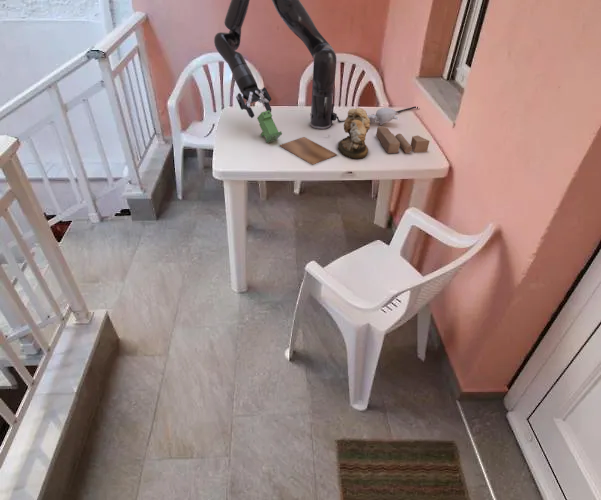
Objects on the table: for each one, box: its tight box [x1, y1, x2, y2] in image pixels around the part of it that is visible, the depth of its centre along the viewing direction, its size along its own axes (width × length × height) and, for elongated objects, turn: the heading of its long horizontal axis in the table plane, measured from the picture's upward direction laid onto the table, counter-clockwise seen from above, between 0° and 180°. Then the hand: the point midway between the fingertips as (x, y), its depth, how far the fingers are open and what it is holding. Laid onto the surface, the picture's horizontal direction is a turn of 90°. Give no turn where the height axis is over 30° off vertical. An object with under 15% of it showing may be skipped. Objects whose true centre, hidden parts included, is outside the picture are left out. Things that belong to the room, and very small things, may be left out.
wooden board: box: [279, 136, 337, 165], centre depth 167 cm, size 13×20×1 cm, turn 40°
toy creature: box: [367, 107, 401, 126], centre depth 188 cm, size 13×7×20 cm
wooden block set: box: [375, 125, 430, 154], centre depth 173 cm, size 17×6×18 cm
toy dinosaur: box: [256, 110, 283, 143], centre depth 170 cm, size 11×5×12 cm, turn 40°
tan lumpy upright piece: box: [337, 107, 371, 160], centre depth 164 cm, size 18×12×17 cm, turn 11°
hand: (261, 114), depth 171 cm, fingers open, 8 cm apart
